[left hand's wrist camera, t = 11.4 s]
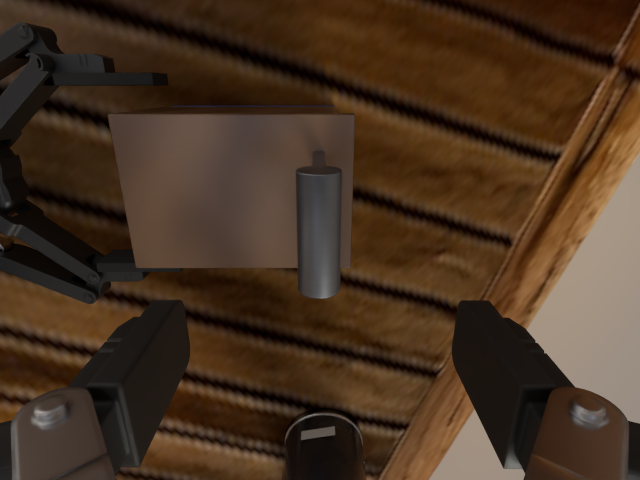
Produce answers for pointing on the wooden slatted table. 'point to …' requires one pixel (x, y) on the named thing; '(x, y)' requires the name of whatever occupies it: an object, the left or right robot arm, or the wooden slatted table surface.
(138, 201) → the lid
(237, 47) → the wooden slatted table surface
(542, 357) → the left robot arm
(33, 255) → the right robot arm
